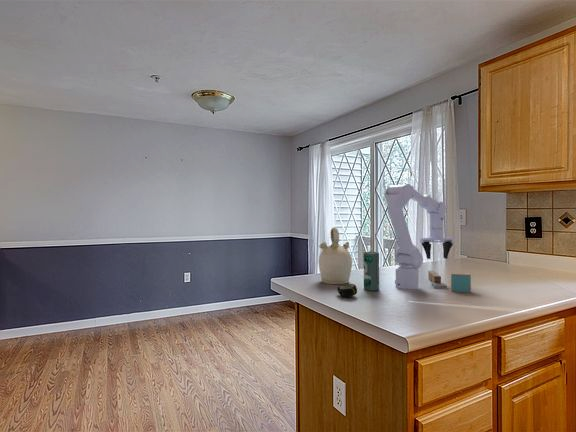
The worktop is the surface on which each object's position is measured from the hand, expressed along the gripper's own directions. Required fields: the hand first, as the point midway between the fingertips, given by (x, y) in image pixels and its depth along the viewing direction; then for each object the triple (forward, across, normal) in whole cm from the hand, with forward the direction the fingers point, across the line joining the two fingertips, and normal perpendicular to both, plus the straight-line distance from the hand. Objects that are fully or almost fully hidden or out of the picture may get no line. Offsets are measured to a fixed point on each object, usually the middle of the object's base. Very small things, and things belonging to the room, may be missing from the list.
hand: (437, 258), depth 155 cm
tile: (+10, +1, -18) cm, 21 cm away
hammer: (+10, -2, -3) cm, 11 cm away
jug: (+11, -45, +3) cm, 47 cm away
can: (+11, -33, -12) cm, 36 cm away
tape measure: (+10, -43, -21) cm, 49 cm away
